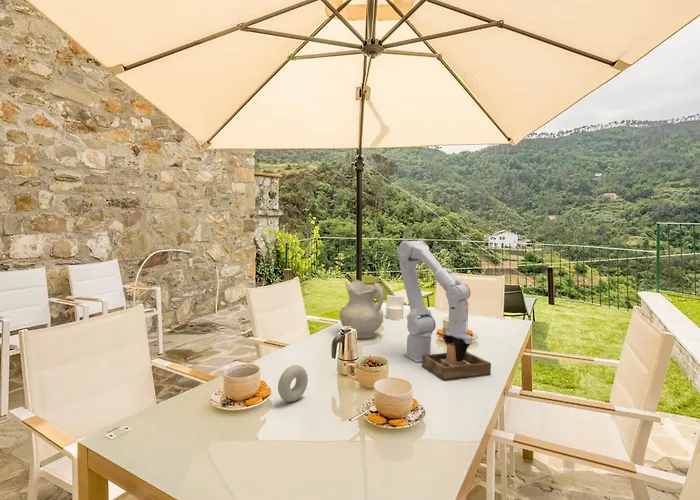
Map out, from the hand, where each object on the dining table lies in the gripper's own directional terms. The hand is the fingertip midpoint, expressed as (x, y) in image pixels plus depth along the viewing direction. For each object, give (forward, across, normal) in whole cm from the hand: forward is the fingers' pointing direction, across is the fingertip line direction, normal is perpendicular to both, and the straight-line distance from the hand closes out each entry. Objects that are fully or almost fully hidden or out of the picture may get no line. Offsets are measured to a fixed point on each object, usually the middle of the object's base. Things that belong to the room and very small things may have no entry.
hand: (455, 358), depth 141 cm
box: (+4, 0, 0) cm, 4 cm away
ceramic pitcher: (+4, -50, -14) cm, 52 cm away
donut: (+4, +7, -58) cm, 59 cm away
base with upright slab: (+4, -77, +15) cm, 79 cm away
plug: (+2, 0, 0) cm, 2 cm away
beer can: (+4, -40, +30) cm, 50 cm away
